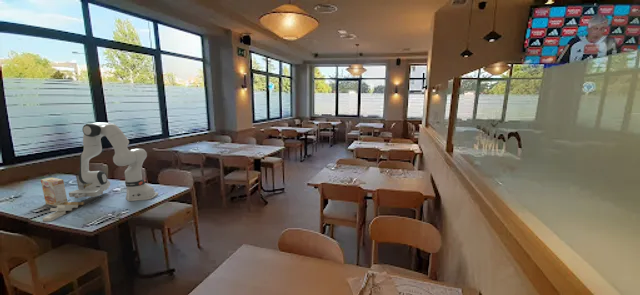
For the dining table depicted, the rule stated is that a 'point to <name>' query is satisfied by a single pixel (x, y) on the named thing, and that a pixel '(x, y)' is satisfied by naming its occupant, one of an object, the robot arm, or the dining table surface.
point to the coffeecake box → (54, 191)
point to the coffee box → (81, 184)
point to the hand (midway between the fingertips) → (76, 197)
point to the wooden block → (73, 203)
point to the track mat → (86, 202)
